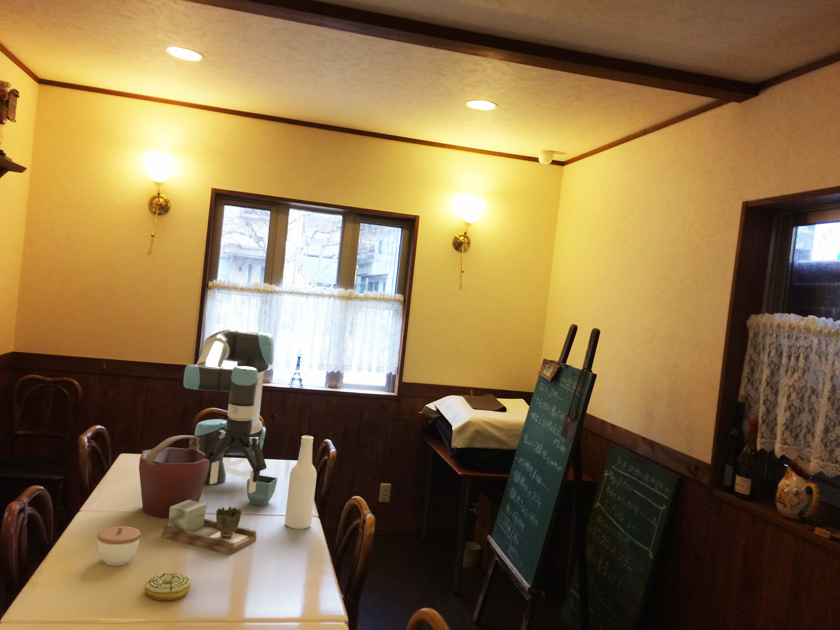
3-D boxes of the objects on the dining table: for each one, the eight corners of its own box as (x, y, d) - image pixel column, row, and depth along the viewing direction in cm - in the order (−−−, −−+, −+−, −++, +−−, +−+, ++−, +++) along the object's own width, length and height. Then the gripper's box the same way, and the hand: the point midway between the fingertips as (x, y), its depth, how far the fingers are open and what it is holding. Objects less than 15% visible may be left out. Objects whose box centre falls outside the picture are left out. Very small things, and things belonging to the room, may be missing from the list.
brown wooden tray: (161, 536, 202) (164, 509, 202) (191, 523, 215) (193, 497, 215) (229, 554, 194) (233, 525, 194) (256, 540, 208) (259, 513, 207)
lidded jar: (90, 556, 183) (94, 522, 182) (132, 551, 189) (135, 518, 189) (99, 571, 174) (103, 536, 174) (142, 565, 181) (146, 531, 180)
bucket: (181, 495, 242) (188, 427, 241) (221, 512, 229) (229, 439, 229) (118, 508, 221) (126, 433, 221) (158, 527, 209) (166, 448, 208)
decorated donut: (163, 581, 173) (164, 566, 173) (198, 591, 170) (199, 576, 170) (134, 596, 164) (136, 580, 164) (171, 607, 160) (173, 591, 160)
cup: (215, 541, 198) (218, 515, 198) (211, 533, 205) (214, 507, 205) (241, 540, 202) (244, 514, 201) (236, 531, 208) (238, 506, 208)
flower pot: (275, 501, 247) (278, 477, 247) (267, 508, 238) (270, 483, 238) (252, 498, 248) (255, 474, 248) (243, 505, 239) (246, 480, 239)
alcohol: (314, 528, 223) (324, 439, 223) (289, 530, 219) (299, 439, 218) (305, 519, 231) (314, 433, 230) (280, 521, 226) (290, 433, 226)
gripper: (197, 412, 202) (189, 482, 203) (269, 426, 195) (261, 498, 195) (212, 409, 209) (205, 476, 210) (282, 423, 202) (274, 492, 202)
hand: (232, 487), depth 203 cm, fingers open, 13 cm apart
